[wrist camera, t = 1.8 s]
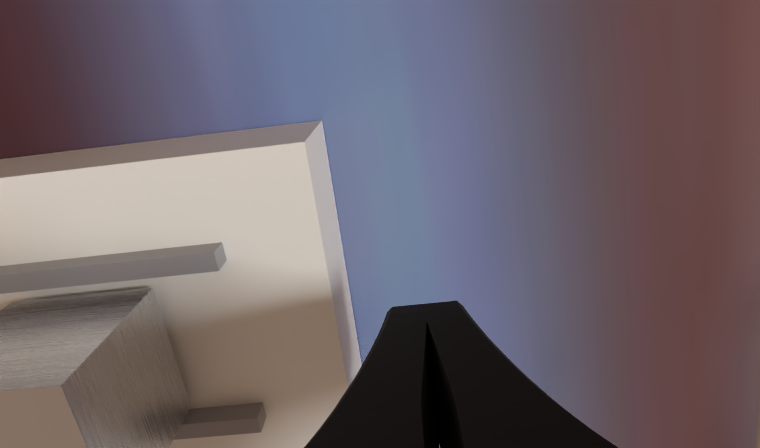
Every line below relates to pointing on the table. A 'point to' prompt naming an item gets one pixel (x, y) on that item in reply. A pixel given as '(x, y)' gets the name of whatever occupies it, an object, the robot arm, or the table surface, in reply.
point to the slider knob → (89, 373)
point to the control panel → (202, 267)
